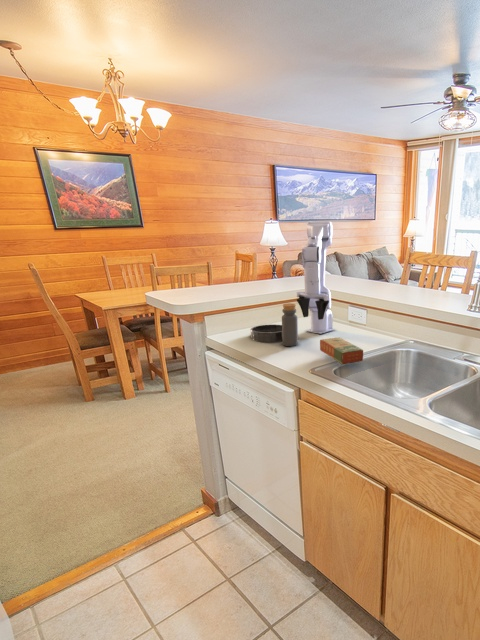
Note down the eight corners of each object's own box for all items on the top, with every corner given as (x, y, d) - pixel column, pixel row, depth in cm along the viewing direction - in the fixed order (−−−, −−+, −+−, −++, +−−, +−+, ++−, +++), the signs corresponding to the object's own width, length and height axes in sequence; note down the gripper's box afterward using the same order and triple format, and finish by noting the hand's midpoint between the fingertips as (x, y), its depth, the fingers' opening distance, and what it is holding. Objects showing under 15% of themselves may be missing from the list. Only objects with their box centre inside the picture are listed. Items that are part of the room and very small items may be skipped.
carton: (339, 347, 149) (340, 336, 148) (363, 361, 137) (364, 349, 135) (319, 350, 145) (319, 339, 144) (342, 364, 133) (342, 352, 131)
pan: (271, 332, 176) (270, 322, 174) (297, 337, 167) (296, 327, 166) (243, 339, 165) (242, 329, 163) (269, 344, 156) (269, 334, 155)
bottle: (299, 342, 160) (298, 303, 153) (296, 346, 154) (295, 306, 148) (284, 341, 160) (283, 302, 154) (280, 345, 155) (279, 305, 148)
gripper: (290, 280, 153) (292, 317, 158) (320, 283, 145) (321, 322, 150) (303, 279, 158) (304, 314, 163) (332, 281, 150) (333, 319, 155)
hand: (313, 318), depth 157 cm, fingers open, 7 cm apart
